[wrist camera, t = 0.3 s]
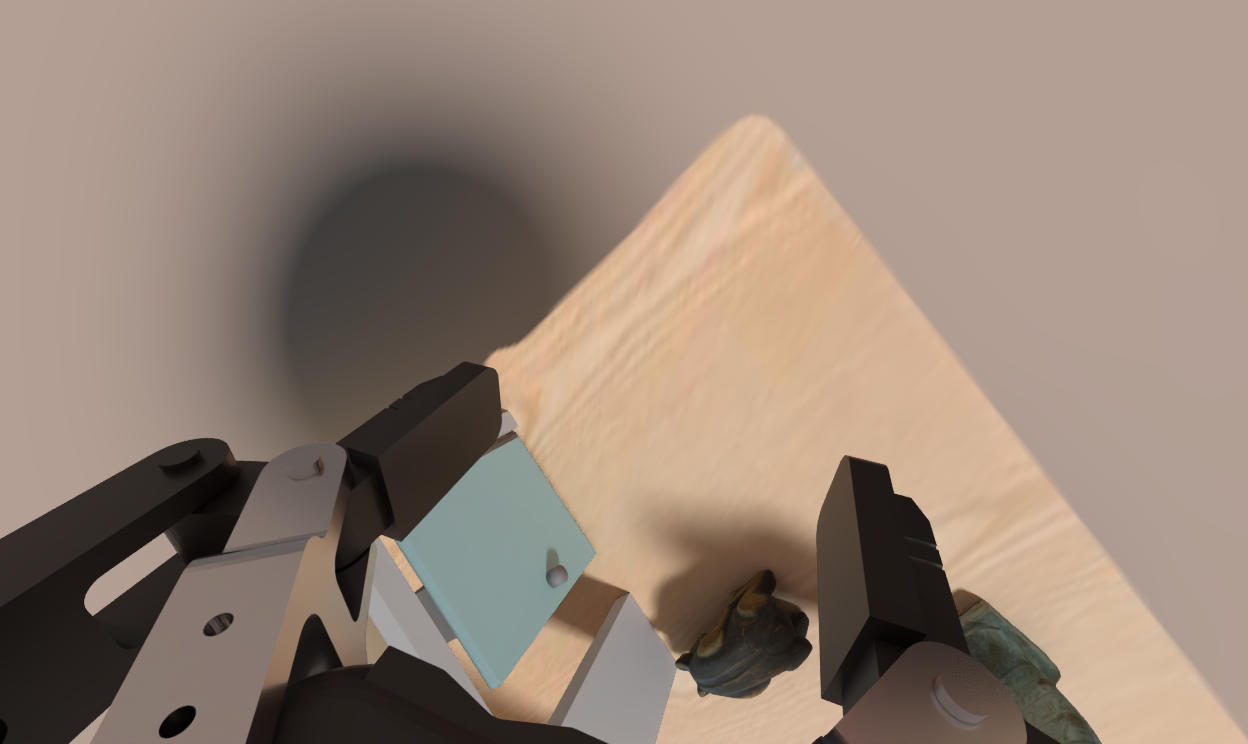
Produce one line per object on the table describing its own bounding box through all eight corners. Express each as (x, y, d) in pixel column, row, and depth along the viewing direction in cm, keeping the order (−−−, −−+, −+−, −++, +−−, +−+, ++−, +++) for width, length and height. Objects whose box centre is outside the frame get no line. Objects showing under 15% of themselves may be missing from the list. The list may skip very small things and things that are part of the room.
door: (604, 548, 48) (512, 680, 32) (588, 557, 49) (490, 689, 33) (522, 426, 49) (392, 494, 33) (508, 437, 50) (374, 508, 34)
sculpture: (716, 678, 47) (706, 739, 41) (672, 630, 48) (655, 682, 41) (817, 613, 43) (823, 670, 36) (766, 561, 43) (764, 607, 37)
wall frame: (678, 664, 48) (598, 939, 28) (663, 670, 49) (575, 941, 29) (508, 410, 50) (316, 494, 30) (496, 420, 51) (301, 508, 30)
